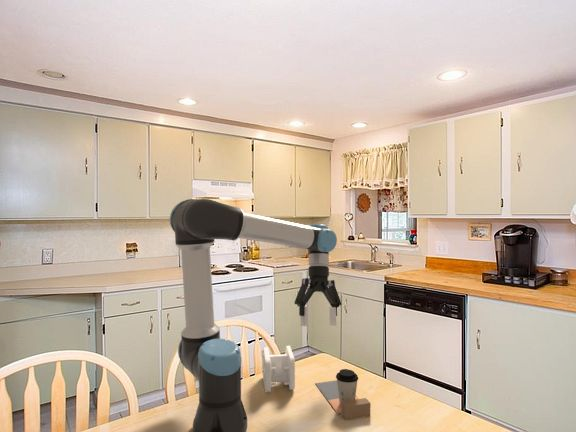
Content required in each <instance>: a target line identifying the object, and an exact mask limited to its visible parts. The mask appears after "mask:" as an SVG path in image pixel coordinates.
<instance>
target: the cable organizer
mask: <svg viewBox="0 0 576 432" xmlns="http://www.w3.org/2000/svg"><path fill="white" fill-rule="evenodd" d="M261 356H262V357H261V359H262V378H263V387H264V392H265V393H271V392H272V386H275V388H276V387H277V384H276V383H280V382H281V383H283V386H284V387H285V385H286V386H287V385H288V389H289V390H290V391H294V390H295V388H296V385H295V384H296V374H295V373H296V365H295V364H296V361H295V356H294V353H293V351H292V348H291V345H285V351H284V353H283V354H270V350H269V347H268V346H265V347H263V348H262V349H261Z"/></svg>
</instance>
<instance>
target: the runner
mask: <svg viewBox="0 0 576 432" xmlns="http://www.w3.org/2000/svg"><path fill="white" fill-rule="evenodd" d="M315 385H316V387H317V388H318V390H319V391H320V392H321V393H322V395H323V396H324V398H325V399H326V400H327V402H328V404H329V405H330V406H331V408H332V409H333V410H334V411H335V413H336V414H337V415H341V416H342V418H343V419H344V421H349V420H355V419H362V418H369V417H371V402H370V401H369V400H368V399H367V397H364V398H363V397H362V398H359V397H358V396H357V395H356V396H355V400H349V401H342V402H341V405H340V402H339V393H338V384H337V379H336V380H330V381H329V380H328V381H323V382H315Z"/></svg>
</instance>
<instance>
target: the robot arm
mask: <svg viewBox="0 0 576 432" xmlns="http://www.w3.org/2000/svg"><path fill="white" fill-rule="evenodd" d="M169 215H170V216H169V224H170V227H171V230H172V231H173V232H174V236H175V237H174V239H175V246H176V247H178V248H179V249H180V252H181V253H180V254H181V267H182V268H181V269H182V284H183V300H184V314H185V315H184V316H185V327H184V328H183V330H182V331H181V332H180V335H181V336H180V337H181V340H180V341H179V343H178V348H177V353H178V354H177V355H178V358H179V361H180V363H181V364H182V366H183V367H184V368H185V369H186V370H187V371H188V372H190V374H191V375H192V376H193V377H194V378H195V379H196V380H197V381H198V405H197V409H196V412H195V415H194V419H193V422H192V432H246V431H247V428H248V416H247V412H246V409H245V406H244V404H243V401H242V355H241V354H242V353H241V348H240V346H239V345H238V344H237V343H236V342H234V341H232V340H230V339H225V338H221V333H220V332H221V331H220V326H218V325H217V324H216V323H215V314H214V313H215V312H214V300H213V299H214V296H213V294H214V293H213V282H212V281H213V280H212V279H213V278H212V264H211V263H212V261H211V247H212V246H213V244H214V243H215V240H226V241H227V240H228V241H236V240H238V239H244V240H250V241H256V242H262V243H269V244H274V245H281V246H285V247H289V248H297V249H301V250H302V249H304V250H308V265H309V267H308V277H309V278H308V277H305V278H302V279H301V285H300V288H299V291H298V293H297V294H296V297H295V300H294V304H295V305H297V307H298V309H299V310H298V311H299V312H298V313H299V316H300V326H301V327H307V326H308V306H306V305H307V304H308V302H309V301H310V299H311V298H312V296H313V295H314V294H315V292H316V293H317V292H318V293H322V294H323V295H324V297H325V298H326V300H327V301H328V304H329V305H330V306H329V326H332V327H333V326H334V327H335V326H337V316H338V308H339V307H340V306H342V301H341V298H340V296H339V293H338V291H337V288H336V282H335V280H334V279H333V280H332V279H330V280H329V278H328V277H329V276H330V267H329V265H330V258H329V257H330V252H332V251H333V250H334V249H335V248H336V246H337V243H338V242H337V241H338V238H337V235H336V233H335V232H334V230H332V229H329V227H328V225H326V224H321V223H319V224H318V223H314V224H310V225H306V224H300V223H296V222H293V221H292V222H291V221H286V220H281V219H277V218H271V217H266V216H262V215H258V214H253V213H248V212H244V211H243V209H242V208H240V207H236V206H233V205H229V204H225V203H222V202H219V201H216V200H213V199H210V198H188V199H185V200H182V201H180V202H179V203H177V204H176V205H174V207H173V208H172V210H171V212H170V214H169Z"/></svg>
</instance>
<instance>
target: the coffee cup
mask: <svg viewBox="0 0 576 432" xmlns="http://www.w3.org/2000/svg"><path fill="white" fill-rule="evenodd" d="M335 378H336V380H337V384H338V393H339V402H340V405H341V402H342V401H349V400H355V396H357V387H358V381H359V377H358V375H357V373H355V371H354V370H352V369H347V368H344V369H340V370H339V372H338V373H336V375H335Z"/></svg>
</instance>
